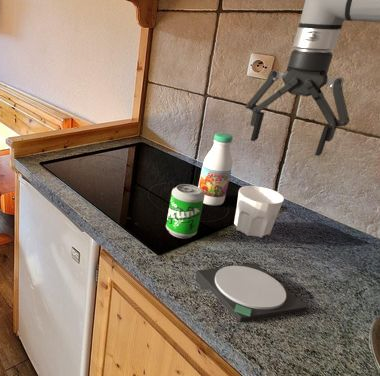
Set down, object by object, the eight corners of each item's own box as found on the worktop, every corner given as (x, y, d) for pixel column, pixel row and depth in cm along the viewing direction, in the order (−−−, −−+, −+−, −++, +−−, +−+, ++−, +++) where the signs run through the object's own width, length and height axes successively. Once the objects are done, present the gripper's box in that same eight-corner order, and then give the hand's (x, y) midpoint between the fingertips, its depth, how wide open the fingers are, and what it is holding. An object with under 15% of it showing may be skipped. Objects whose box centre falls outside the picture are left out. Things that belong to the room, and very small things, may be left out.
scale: (304, 317, 75) (309, 304, 74) (237, 328, 72) (241, 315, 71) (253, 271, 87) (256, 260, 86) (194, 279, 84) (196, 267, 83)
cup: (246, 216, 110) (255, 183, 106) (281, 233, 102) (292, 198, 98) (222, 225, 106) (230, 190, 101) (257, 243, 98) (267, 207, 94)
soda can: (171, 221, 107) (178, 180, 101) (200, 230, 103) (209, 188, 98) (160, 233, 101) (168, 190, 96) (191, 243, 97) (200, 199, 92)
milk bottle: (191, 194, 122) (204, 130, 113) (215, 194, 123) (230, 130, 114) (203, 206, 115) (217, 139, 106) (228, 205, 116) (245, 139, 107)
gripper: (244, 45, 90) (224, 137, 99) (384, 58, 74) (345, 165, 83) (256, 43, 95) (236, 131, 104) (389, 55, 79) (352, 156, 88)
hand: (284, 146), depth 93 cm, fingers open, 13 cm apart
